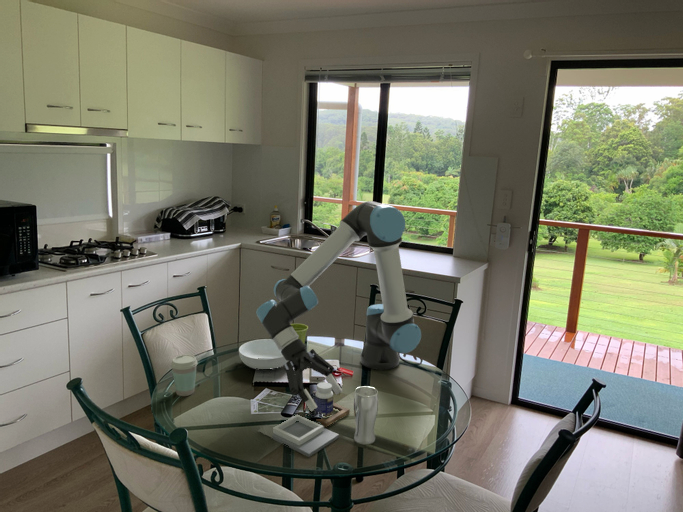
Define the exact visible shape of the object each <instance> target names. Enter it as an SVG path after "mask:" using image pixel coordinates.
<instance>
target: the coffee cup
mask: <svg viewBox="0 0 683 512" xmlns="http://www.w3.org/2000/svg"><path fill="white" fill-rule="evenodd" d="M198 363H199V362H198V360H197V357H196V356H194V355H192V354H181V355H177V356H174V357H173V358H172V360H171V362H170V367H171V369H172V374H173V375H172V376H173V381H174V388H175V393H176V395H177V396H179V397H189V396H191V395H193V394H194V393H195V388H196V376H197V367H198V366H197V365H198Z"/></svg>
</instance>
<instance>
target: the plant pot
mask: <svg viewBox="0 0 683 512" xmlns="http://www.w3.org/2000/svg"><path fill="white" fill-rule="evenodd" d="M290 324H291V326H292V327H293V328H294V330H295V331H296V333H297V334H298V336H299V337H298V339H301V340H302V342H303V343H304V345H305V342H306V336H307V331H308V330H309V326H308V325H306V324H304V323H290Z"/></svg>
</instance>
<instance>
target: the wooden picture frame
mask: <svg viewBox="0 0 683 512" xmlns="http://www.w3.org/2000/svg"><path fill="white" fill-rule="evenodd" d="M333 408H335V409H338V410H339V411H340V412H337V413H334V414H333V415H332V416H331V417H329V418H321V419H316V421H318V422H320V423H321V424H322V425H323V426H325V427H327V426H329V425H330V424H332V423H333V422H335V421H336V420H338V419H340V418H342V417H343V418H345V417H346V416H348V415H350V408H347V407H345V406H343V405H340V404H337V403H335V402H333ZM305 415H307V414H305ZM308 416H309V415H308ZM344 416H345V417H344ZM343 418H342V419H343ZM340 420H341V419H340ZM338 421H339V420H338ZM335 423H336V422H335ZM333 424H334V423H333ZM333 424H332V425H333ZM330 426H331V425H330ZM330 426H329V427H330ZM325 427H324V428H325ZM327 428H328V427H327Z"/></svg>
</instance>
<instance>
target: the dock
mask: <svg viewBox="0 0 683 512" xmlns="http://www.w3.org/2000/svg"><path fill="white" fill-rule="evenodd" d="M294 415H295V416H293V417H291V418H290V419H288V420H286V421H284V422H282V423H281V424H279V425H277V426H275V427H273V435H272V437H273V439H272V440H273V441H276V442H278V443H279V444H282V443H284V444H286V445H288V446H289V447H288V446H287V447H288V448H290V449H292V450H294V451H296V452H298V453H300V454H302V455H303V456H306V457H308V458H310V457H312V456H313V455H315V454H316V453H318V452H319V451H320V450H323V449H324V448H325V447H327V446H328V445H330V444H331V443H333V442H334V441H336V440H338V439H339V437H340V434H339V433H336V432H334V431H333V430H329V429H327V428H325V427H324V426H323V425H320V424H318V423H316V422H314V421H311V420H309V419H307V418H305V417H302V416H300V415H298V413H297V414H294ZM296 421H299V422H297V423H295V422H296ZM284 444H283V445H284ZM286 445H285V446H286Z"/></svg>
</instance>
